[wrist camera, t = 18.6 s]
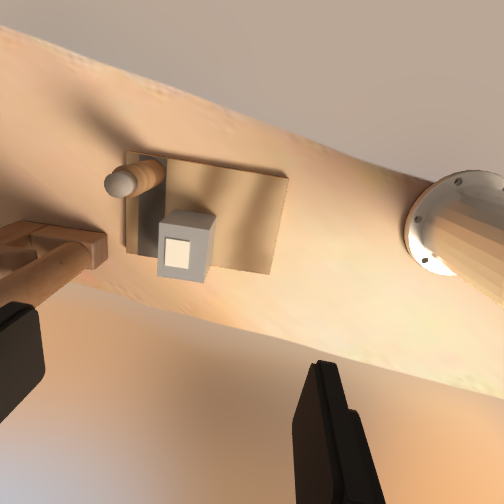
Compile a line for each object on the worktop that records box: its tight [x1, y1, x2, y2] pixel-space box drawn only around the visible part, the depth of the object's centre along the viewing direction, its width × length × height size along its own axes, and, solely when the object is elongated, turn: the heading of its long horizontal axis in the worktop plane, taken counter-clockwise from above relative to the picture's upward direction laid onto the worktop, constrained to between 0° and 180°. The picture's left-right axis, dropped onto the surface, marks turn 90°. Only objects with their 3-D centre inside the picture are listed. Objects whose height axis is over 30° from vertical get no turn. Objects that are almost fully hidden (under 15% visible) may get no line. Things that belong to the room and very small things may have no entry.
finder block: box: [157, 209, 217, 283], centre depth 32 cm, size 5×6×6 cm
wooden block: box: [0, 221, 108, 308], centre depth 28 cm, size 4×11×18 cm, turn 81°
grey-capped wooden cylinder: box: [104, 159, 166, 198], centre depth 28 cm, size 3×3×9 cm
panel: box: [126, 151, 289, 275], centre depth 35 cm, size 18×12×1 cm, turn 81°
